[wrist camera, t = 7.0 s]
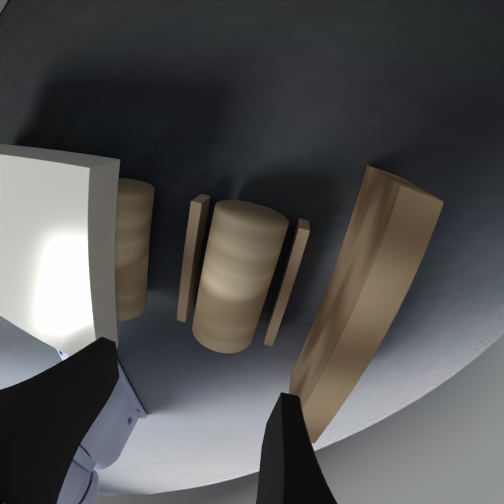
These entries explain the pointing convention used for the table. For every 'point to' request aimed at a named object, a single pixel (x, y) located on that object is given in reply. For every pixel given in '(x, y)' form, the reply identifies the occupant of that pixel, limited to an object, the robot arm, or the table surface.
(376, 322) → the block
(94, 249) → the slab
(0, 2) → the small box
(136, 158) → the table surface
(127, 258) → the roller track
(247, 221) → the roller
